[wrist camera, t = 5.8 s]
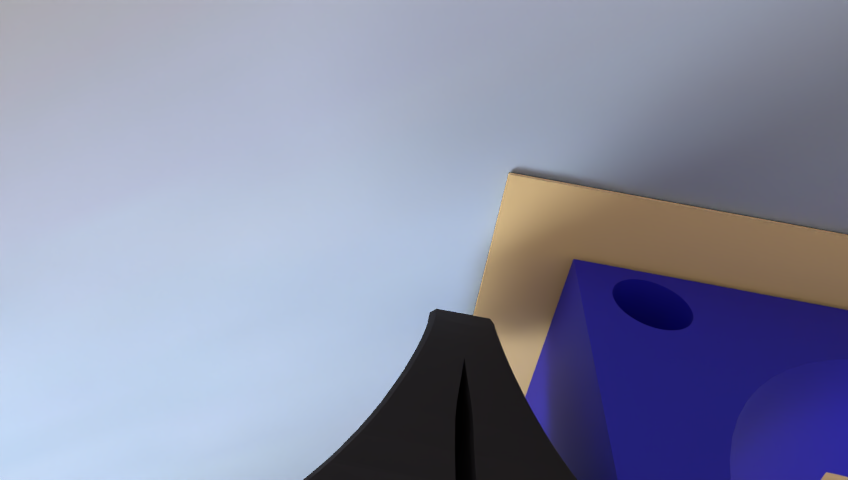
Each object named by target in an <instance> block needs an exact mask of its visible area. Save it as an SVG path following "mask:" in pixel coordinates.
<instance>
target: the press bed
mask: <svg viewBox="0 0 848 480" xmlns="http://www.w3.org/2000/svg"><path fill="white" fill-rule="evenodd" d="M573 259H577V260H582V261H587V262H593V263H598V264H603V265H609V266H614V267H619V268H625V269H630V270H635V271H641V272H646V273H651V274H657V275H662V276H668V277H673V278H678V279H684V280H689V281H694V282H700V283H705V284H710V285H716V286H721V287H726V288H732V289H737V290H742V291H748V292H753V293H759V294H764V295H769V296H775V297H780V298H785V299H791V300H796V301H801V302H807V303H812V304H817V305H823V306H828V307H833V308H839V309H844V310H848V235H846V234H841V233H835V232H830V231H825V230H819V229H814V228H808V227H803V226H797V225H792V224H787V223H781V222H776V221H770V220H765V219H760V218H754V217H749V216H743V215H738V214H732V213H727V212H722V211H716V210H711V209H705V208H700V207H694V206H689V205H684V204H678V203H673V202H667V201H662V200H657V199H651V198H646V197H640V196H635V195H629V194H624V193H619V192H613V191H608V190H602V189H597V188H591V187H586V186H581V185H575V184H570V183H564V182H559V181H554V180H548V179H543V178H537V177H532V176H526V175H521V174H516V173H510V172H509V174H508V178H507V182H506V186H505V190H504V194H503V198H502V202H501V206H500V210H499V214H498V218H497V222H496V226H495V230H494V234H493V238H492V242H491V246H490V250H489V254H488V258H487V262H486V266H485V270H484V274H483V278H482V282H481V286H480V290H479V294H478V298H477V302H476V306H475V310H474V314H473V316H479V317H484V318H490V319H491V321H492V322H493V323H494V325H495V329H496V332H497V335H498V337H499V340H500V343H501V345H502V348H503V350H504V353H505V355H506V358H507V360H508V362H509V365H510V367H511V369H512V371H513V374H514V376H515V378H516V380H517V382H518V384H519V386H520V388H521V390H522V392H523V394H524V396H526V393H527V390H528V387H529V385H530V382H531V379H532V376H533V373H534V370H535V367H536V365H537V362H538V359H539V356H540V353H541V350H542V347H543V344H544V342H545V339H546V336H547V333H548V330H549V327H550V324H551V322H552V319H553V316H554V313H555V310H556V307H557V304H558V302H559V299H560V296H561V293H562V290H563V287H564V284H565V281H566V279H567V276H568V273H569V270H570V267H571V264H572V261H573ZM821 480H848V477H845V476H841V475H837V474H832V473H828V472H826V473H825V475H824V476H823V477H822V479H821Z"/></svg>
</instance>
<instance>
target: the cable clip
mask: <svg viewBox="0 0 848 480" xmlns="http://www.w3.org/2000/svg"><path fill="white" fill-rule="evenodd" d="M525 398H526V400H527V402H528V404H529V406H530V407H531V409H532V411H533V413H534V415H535V416H536V418H537V420H538V421H539V423H540V425H541V427H542V428H543V430H544V432H545V433H546V435H547V437H548V438H549V440H550V441H551V443H552V444H553V446H554V448H555V449H556V451H557V452H558V454H559V455H560V456H561V458H562V459H563V461H564V462H565V464H566V465H567V466H568V468H569V469H570V471H571V472H572V473H573V475H574V476H575V477H576V478H577V480H821V479H822V477H823V476H824V475H825V473H826V472H828V473H832V474H837V475H841V476H845V477H848V310H844V309H839V308H833V307H828V306H823V305H817V304H812V303H807V302H801V301H796V300H791V299H785V298H780V297H775V296H769V295H764V294H759V293H753V292H748V291H742V290H737V289H732V288H726V287H721V286H716V285H710V284H705V283H700V282H694V281H689V280H684V279H678V278H673V277H668V276H662V275H657V274H651V273H646V272H641V271H635V270H630V269H625V268H619V267H614V266H609V265H603V264H598V263H593V262H587V261H582V260H577V259H573V261H572V264H571V267H570V270H569V273H568V276H567V279H566V281H565V284H564V287H563V290H562V293H561V296H560V299H559V302H558V304H557V307H556V310H555V313H554V316H553V319H552V322H551V324H550V327H549V330H548V333H547V336H546V339H545V342H544V344H543V347H542V350H541V353H540V356H539V359H538V362H537V365H536V367H535V370H534V373H533V376H532V379H531V382H530V385H529V387H528V390H527V393H526V396H525Z"/></svg>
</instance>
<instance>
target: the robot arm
mask: <svg viewBox="0 0 848 480" xmlns="http://www.w3.org/2000/svg"><path fill="white" fill-rule="evenodd" d="M304 480H577V478H576V477H575V476H574V475H573V473H572V472H571V471H570V469H569V468H568V466H567V465H566V464H565V462H564V461H563V459H562V458H561V456H560V455H559V454H558V452H557V451H556V449H555V448H554V446H553V444H552V443H551V441H550V440H549V438H548V437H547V435H546V433H545V432H544V430H543V428H542V427H541V425H540V423H539V421H538V420H537V418H536V416H535V415H534V413H533V411H532V409H531V407H530V406H529V404H528V402H527V400H526V398H525V396H524V394H523V392H522V390H521V388H520V386H519V384H518V382H517V380H516V378H515V376H514V374H513V371H512V369H511V367H510V365H509V362H508V360H507V358H506V355H505V353H504V350H503V348H502V345H501V343H500V340H499V337H498V335H497V332H496V329H495V325H494V323H493V322H492V321H491V319H490V318H484V317H479V316H473V315H467V314H462V313H456V312H451V311H445V310H440V309H435V310H434V311H432V312H430V315H429V319H428V324H427V327H426V329H425V332H424V334H423V336H422V339H421V341H420V343H419V345H418V347H417V349H416V350H415V352H414V354H413V355H412V357H411V359H410V361H409V362H408V364H407V366H406V367H405V369H404V371H403V372H402V374H401V375H400V377H399V378H398V379H397V381H396V382H395V384H394V385H393V386H392V388H391V389H390V391H389V392H388V393H387V395H386V396H385V398H384V399H383V400H382V402H381V403H380V404H379V405H378V407H377V408H376V409H375V410H374V411H373V413H372V414H371V415H370V416H369V417H368V418H367V420H366V421H365V422H364V423H363V424H362V425H361V426H360V428H359V429H358V430H357V431H356V432H355V433H354V434H353V435H352V436H351V437H350V438H349V439H348V440H347V441H346V442H345V443H344V444H343V445H342V446H341V447H340V448H339V449H338V450H337V451H336V452H335V453H334V454H333V455H332V456H331V457H330V458H328V459H327V460H326V461H325V462H324V463H323V464H322V465H320V466H319V467H318V468H317V469H316V470H314V471H313V472H312V473H311V474H310V475H308V476H307V477H306V478H305V479H304Z"/></svg>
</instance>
